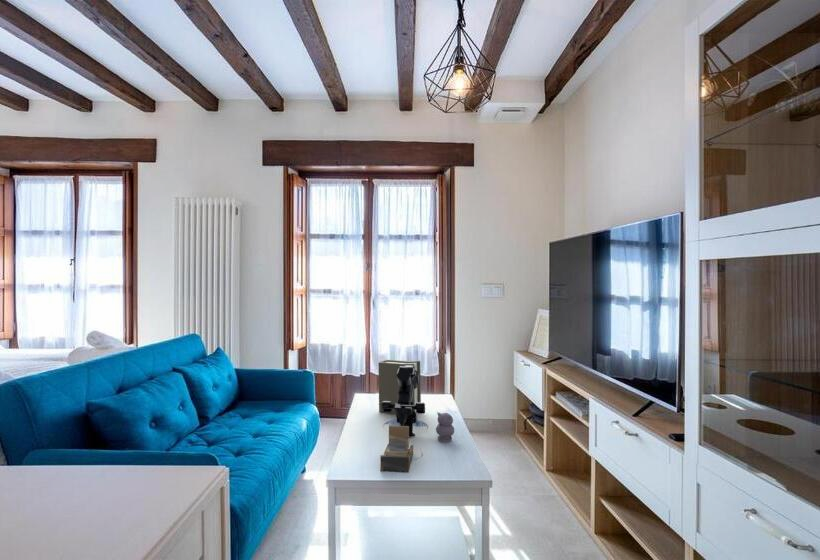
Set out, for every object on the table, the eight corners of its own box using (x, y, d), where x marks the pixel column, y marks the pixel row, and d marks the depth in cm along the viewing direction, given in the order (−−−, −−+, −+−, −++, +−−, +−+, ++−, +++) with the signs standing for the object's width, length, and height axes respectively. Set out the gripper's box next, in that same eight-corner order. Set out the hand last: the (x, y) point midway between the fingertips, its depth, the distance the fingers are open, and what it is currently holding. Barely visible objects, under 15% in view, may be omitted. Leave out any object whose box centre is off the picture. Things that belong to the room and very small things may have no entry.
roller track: (387, 452, 171) (387, 439, 171) (413, 453, 170) (413, 440, 170) (380, 471, 154) (380, 456, 154) (408, 472, 153) (408, 457, 153)
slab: (389, 450, 166) (389, 425, 166) (408, 451, 165) (409, 426, 165) (386, 456, 160) (386, 430, 160) (407, 457, 159) (407, 431, 159)
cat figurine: (458, 440, 185) (458, 413, 185) (447, 445, 179) (447, 417, 179) (442, 435, 190) (443, 409, 190) (432, 440, 184) (432, 413, 184)
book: (377, 412, 224) (377, 361, 224) (386, 408, 232) (385, 358, 233) (413, 417, 215) (412, 363, 215) (420, 412, 223) (420, 360, 224)
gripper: (426, 400, 188) (424, 434, 178) (386, 399, 190) (382, 433, 179) (425, 389, 180) (423, 424, 169) (383, 388, 182) (378, 422, 171)
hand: (401, 426), depth 173 cm, fingers closed
